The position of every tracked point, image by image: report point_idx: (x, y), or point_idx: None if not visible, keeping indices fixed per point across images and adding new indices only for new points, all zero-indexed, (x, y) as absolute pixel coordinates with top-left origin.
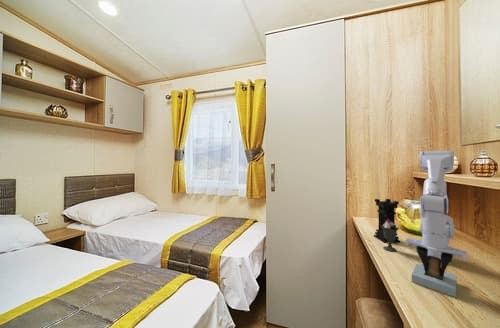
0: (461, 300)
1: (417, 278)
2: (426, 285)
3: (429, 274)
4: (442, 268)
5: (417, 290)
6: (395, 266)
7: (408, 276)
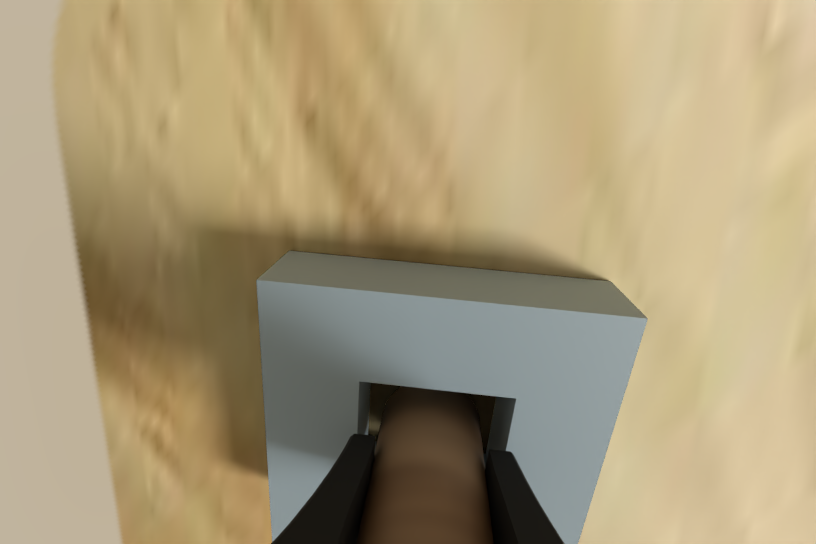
0: (253, 232)
1: (578, 302)
2: (492, 274)
3: (468, 429)
4: (332, 508)
5: (572, 137)
6: (722, 488)
7: None
